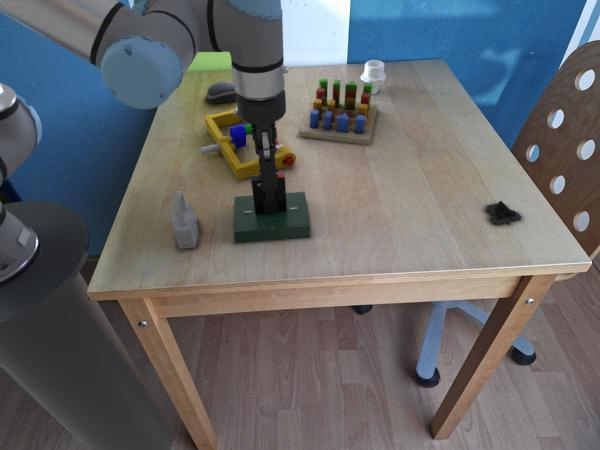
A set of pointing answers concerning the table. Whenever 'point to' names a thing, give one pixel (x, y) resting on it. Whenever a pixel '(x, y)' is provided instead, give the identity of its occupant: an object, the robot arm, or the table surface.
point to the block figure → (502, 214)
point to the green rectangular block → (271, 220)
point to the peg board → (340, 115)
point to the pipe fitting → (374, 74)
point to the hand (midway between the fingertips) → (270, 206)
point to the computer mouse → (221, 92)
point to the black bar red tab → (258, 193)
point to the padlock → (184, 223)
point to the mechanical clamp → (240, 144)
